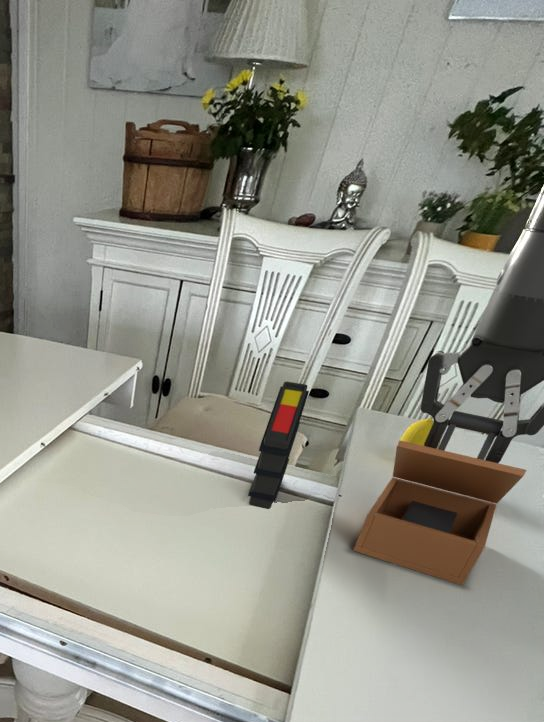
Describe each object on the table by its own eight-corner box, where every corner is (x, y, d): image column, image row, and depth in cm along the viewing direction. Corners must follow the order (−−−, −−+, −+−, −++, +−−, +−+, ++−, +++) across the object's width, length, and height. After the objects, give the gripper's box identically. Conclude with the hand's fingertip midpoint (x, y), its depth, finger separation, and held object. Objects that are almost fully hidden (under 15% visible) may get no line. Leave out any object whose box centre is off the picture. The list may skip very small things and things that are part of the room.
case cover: (523, 476, 61) (550, 423, 60) (396, 446, 67) (419, 397, 66) (497, 503, 74) (518, 460, 73) (392, 476, 79) (411, 436, 78)
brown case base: (462, 585, 69) (484, 546, 66) (352, 550, 74) (368, 512, 71) (476, 540, 78) (496, 504, 74) (377, 512, 83) (392, 476, 80)
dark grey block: (447, 533, 77) (457, 512, 75) (434, 565, 71) (445, 543, 69) (402, 520, 80) (412, 500, 78) (386, 550, 73) (396, 528, 71)
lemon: (384, 466, 96) (404, 416, 91) (399, 458, 99) (419, 410, 94) (418, 477, 93) (441, 427, 88) (432, 469, 96) (455, 419, 91)
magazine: (288, 464, 91) (311, 383, 78) (267, 530, 86) (288, 455, 73) (263, 459, 92) (282, 379, 79) (241, 524, 87) (257, 450, 74)
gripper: (630, 295, 56) (531, 466, 66) (463, 275, 62) (398, 435, 73) (633, 306, 51) (526, 488, 62) (452, 283, 57) (384, 453, 68)
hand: (457, 459), depth 67 cm, fingers closed on case cover, 5 cm apart
